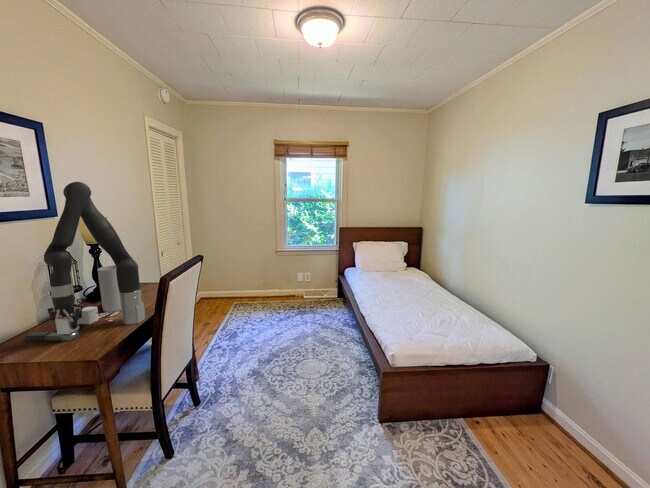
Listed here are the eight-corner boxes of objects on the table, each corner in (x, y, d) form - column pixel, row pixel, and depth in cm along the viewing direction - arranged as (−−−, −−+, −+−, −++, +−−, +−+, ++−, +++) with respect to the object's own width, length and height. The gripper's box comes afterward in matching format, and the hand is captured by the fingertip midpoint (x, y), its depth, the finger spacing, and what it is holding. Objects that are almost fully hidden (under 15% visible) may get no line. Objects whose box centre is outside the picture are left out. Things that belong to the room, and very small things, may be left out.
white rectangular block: (79, 328, 133) (77, 312, 132) (69, 334, 128) (67, 317, 126) (67, 328, 133) (65, 312, 132) (57, 334, 128) (54, 317, 126)
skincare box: (89, 324, 145) (87, 311, 144) (78, 324, 146) (76, 310, 144) (99, 319, 151) (97, 306, 150) (88, 319, 152) (87, 306, 150)
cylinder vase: (112, 313, 158) (107, 271, 154) (97, 310, 162) (92, 269, 158) (134, 305, 170) (129, 266, 166) (119, 303, 174) (114, 264, 170)
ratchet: (82, 334, 134) (80, 322, 133) (71, 341, 128) (69, 328, 127) (36, 335, 133) (34, 323, 132) (22, 342, 127) (20, 329, 126)
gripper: (85, 291, 131) (90, 324, 134) (54, 291, 131) (59, 325, 134) (72, 296, 124) (77, 332, 127) (38, 296, 123) (44, 332, 126)
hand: (68, 328), depth 130 cm, fingers closed on white rectangular block, 5 cm apart
